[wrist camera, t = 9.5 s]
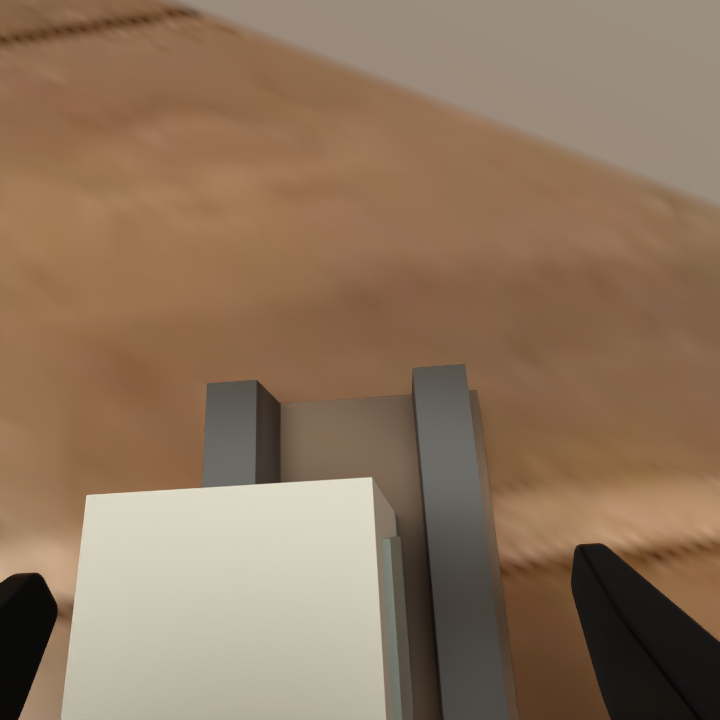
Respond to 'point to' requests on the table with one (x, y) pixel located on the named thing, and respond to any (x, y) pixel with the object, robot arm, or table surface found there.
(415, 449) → the display ledge
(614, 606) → the robot arm
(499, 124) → the table surface
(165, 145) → the table surface
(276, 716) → the cream slab
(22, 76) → the table surface
